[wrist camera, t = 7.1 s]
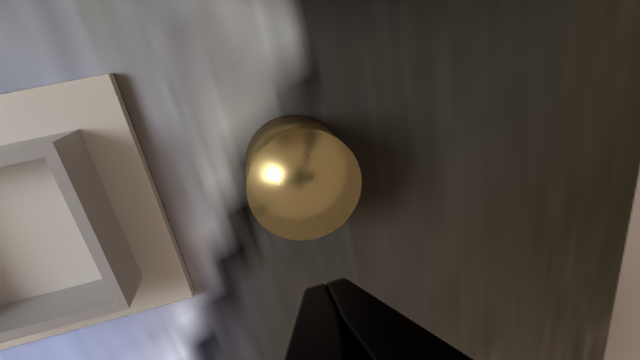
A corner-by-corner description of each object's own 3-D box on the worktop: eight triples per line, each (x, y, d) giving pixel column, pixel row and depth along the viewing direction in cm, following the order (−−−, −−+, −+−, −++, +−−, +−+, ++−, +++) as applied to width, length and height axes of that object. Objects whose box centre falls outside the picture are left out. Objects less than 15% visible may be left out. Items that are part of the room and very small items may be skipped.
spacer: (331, 105, 19) (353, 118, 15) (345, 193, 21) (368, 224, 17) (234, 126, 18) (232, 146, 15) (257, 215, 20) (262, 252, 16)
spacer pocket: (112, 73, 16) (85, 77, 14) (194, 290, 21) (186, 329, 18) (-195, 132, 15) (-298, 152, 12) (-38, 353, 19) (-86, 406, 16)
